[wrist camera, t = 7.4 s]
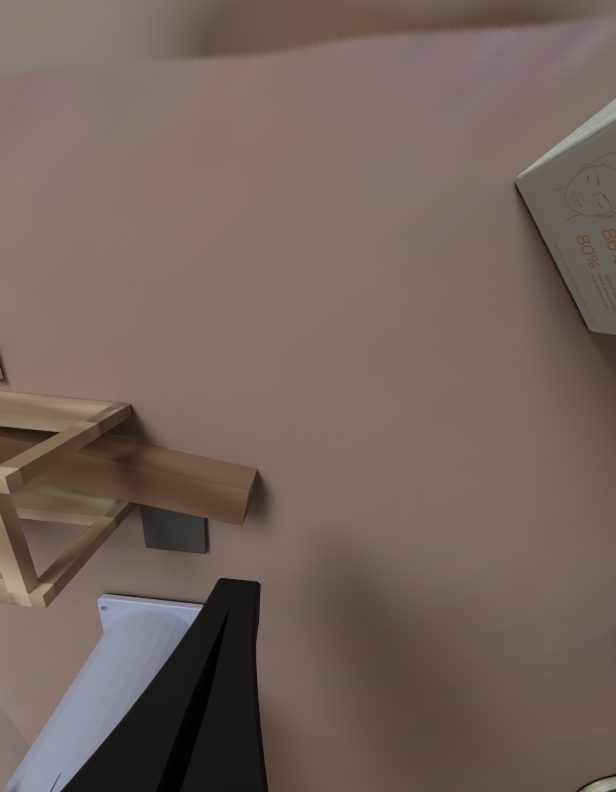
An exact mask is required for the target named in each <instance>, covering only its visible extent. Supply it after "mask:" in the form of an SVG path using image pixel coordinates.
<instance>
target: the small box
mask: <svg viewBox="0 0 616 792" xmlns="http://www.w3.org/2000/svg"><path fill="white" fill-rule="evenodd" d="M515 183H516V185H517V187H518V189H519V191H520V193H521V195H522V197H523V198H524V200H525V202H526V204H527V206H528V208H529V210H530V212H531V214H532V216H533V218H534V220H535V222H536V224H537V226H538V228H539V230H540V232H541V234H542V237H543V239H544V241H545V242H546V244H547V246H548V248H549V250H550V252H551V254H552V256H553V258H554V260H555V262H556V264H557V266H558V268H559V271H560V273H561V275H562V277H563V279H564V281H565V283H566V285H567V286H568V288H569V290H570V292H571V294H572V296H573V298H574V300H575V302H576V304H577V306H578V308H579V310H580V312H581V314H582V316H583V318H584V320H585V322H586V324H587V326H588V329H589V330H590V331H593V332H599V333H605V334H613V335H616V99H615V100H613V101H612V102H611V103H609V104H608V105H607V106H606V107H604V108H603V109H602V110H601V111H599V112H598V113H597V114H595V115H594V116H593V117H592V118H590V119H589V120H588V121H587V122H585V123H584V124H583V125H582V126H580V127H579V128H578V129H576V130H575V131H574V132H573V133H571V134H570V135H569V136H568V137H566V138H565V139H564V140H563V141H561V142H560V143H559V144H557V145H556V146H555V147H554V148H552V149H551V150H550V151H549V152H547V153H546V154H545V155H544V156H542V157H541V158H540V159H539V160H537V161H536V162H535V163H534V164H532V165H531V166H530V167H529V168H528V169H526V170H525V171H524V172H522V173H521V174H520V175H519V176H518V177H517V178H516V180H515Z"/></svg>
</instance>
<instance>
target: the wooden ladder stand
mask: <svg viewBox="0 0 616 792" xmlns="http://www.w3.org/2000/svg"><path fill="white" fill-rule="evenodd" d="M130 416H132V413H131V405H130V404H125V403H114V402H104V401H94V400H84V399H74V398H64V397H54V396H43V395H33V394H23V393H13V392H3V391H0V426H4V427H14V428H24V429H34V430H44V431H54V432H60V433H58V434H57V435H55V436H53V437H51V438H49V439H47V440H45V441H44V442H42V443H40V444H38V445H36V446H34V447H32V448H30V449H29V450H27V451H25V452H23V453H21V454H19V455H17V456H15V457H14V458H12V459H10V460H8V461H6V462H4V463H2V464H0V571H1V574H2V576H3V579H0V603H4V604H13V605H22V606H31V607H41V608H47V607H48V606H49V604H50V603H51V602H52V601H53V600H54V599H55V598H56V596H57V595H58V594H59V593H60V592H61V591H62V590H63V588H64V587H65V586H66V585H67V584H68V583H69V582H70V580H71V579H72V578H73V577H74V576H75V575H76V574H77V572H78V571H79V570H80V569H81V568H82V567H83V566H84V564H85V563H86V562H87V561H88V560H89V559H90V558H91V556H92V555H93V554H94V553H95V552H96V551H97V550H98V548H99V547H100V546H101V545H102V544H103V543H104V542H105V540H106V539H107V538H108V537H109V536H110V535H111V534H112V532H113V531H114V530H115V529H116V528H117V527H118V526H119V524H120V523H121V522H122V521H123V520H124V519H125V518H126V516H127V515H128V514H129V513H130V512H131V511H132V510H133V508H134V507H135V506H136V505H137V504H138V503H134V502H129V501H125V500H120V499H115V498H111V497H106V496H101V495H97V494H92V493H87V492H83V491H78V490H73V489H69V488H64V487H59V486H55V485H50V484H45V483H41V482H36V481H32V480H33V479H34V478H36V477H37V476H39V475H41V474H42V473H44V472H45V471H47V470H48V469H50V468H51V467H53V466H54V465H56V464H58V463H59V462H61V461H62V460H64V459H65V458H67V457H68V456H70V455H72V454H73V453H75V452H76V451H78V450H79V449H81V448H82V447H84V446H85V445H87V444H89V443H90V442H92V441H93V440H95V439H96V438H98V437H99V436H101V435H102V434H104V433H106V432H107V431H109V430H110V429H112V428H113V427H115V426H116V425H118V424H120V423H121V422H123V421H124V420H126V419H127V418H129V417H130ZM19 518H23V519H33V520H42V521H52V522H61V523H71V524H80V525H90V527H89V528H88V529H87V530H86V531H85V532H84V533H83V534H82V535H81V536H80V537H79V538H78V539H77V540H76V541H75V542H74V543H73V544H72V545H71V546H70V547H69V548H68V549H67V550H66V551H65V552H64V553H63V554H62V555H61V556H60V557H59V558H58V559H57V560H56V561H55V562H54V563H53V564H52V565H51V566H50V567H49V568H48V569H47V570H46V571H45V572H44V573H43V574H42V575H41V576H40V577H39V578H38V577H37V574H36V571H35V568H34V565H33V561H32V558H31V555H30V552H29V549H28V546H27V542H26V539H25V536H24V533H23V530H22V527H21V523H20V520H19Z"/></svg>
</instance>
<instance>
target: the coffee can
mask: <svg viewBox="0 0 616 792" xmlns="http://www.w3.org/2000/svg"><path fill="white" fill-rule="evenodd" d="M578 792H616V776H612V777H609V778H605V779H601V780H599V781H595V782H593V783H591V784H589V785H587V786H585V787H584V788H582V789H581V790H579V791H578Z"/></svg>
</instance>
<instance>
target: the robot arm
mask: <svg viewBox="0 0 616 792" xmlns="http://www.w3.org/2000/svg"><path fill="white" fill-rule="evenodd" d="M260 588H261V584H259V583H258V582H256V581H246V580H237V579H227V578H221V579H219V580H218V581H217V583H216V585H215V587H214V589H213V591H212V592H211V594H210V596H209V597H208V599H207V601H206V602H205V604H204V605H202V604H193V603H184V602H175V601H165V600H156V599H147V598H138V597H128V596H119V595H110V594H103V595H101V596H100V598H99V599H98V601H97V603H98V608H99V612H100V617H101V621H102V625H103V630H104V634H103V636H102V637H101V639H100V641H99V642H98V644H97V645H96V647H95V648H94V650H93V651H92V653H91V655H90V656H89V658H88V659H87V661H86V662H85V664H84V665H83V667H82V669H81V670H80V672H79V673H78V675H77V676H76V678H75V680H74V681H73V683H72V684H71V686H70V687H69V689H68V690H67V692H66V694H65V695H64V697H63V698H62V700H61V701H60V703H59V705H58V706H57V708H56V709H55V711H54V712H53V714H52V715H51V717H50V719H49V720H48V722H47V723H46V725H45V726H44V728H43V730H42V731H41V733H40V734H39V736H38V737H37V739H36V740H35V742H34V744H33V745H32V747H31V748H30V750H29V751H28V753H27V755H26V756H25V758H24V759H23V761H22V762H21V764H20V765H19V767H18V769H17V770H16V772H15V773H14V775H13V777H12V778H11V780H10V781H9V783H8V784H7V786H6V787H5V789H4V790H3V792H268V785H267V777H266V769H265V761H264V752H263V743H262V734H261V724H260V713H259V700H258V686H257V669H256V640H257V632H258V625H259V610H260Z"/></svg>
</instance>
